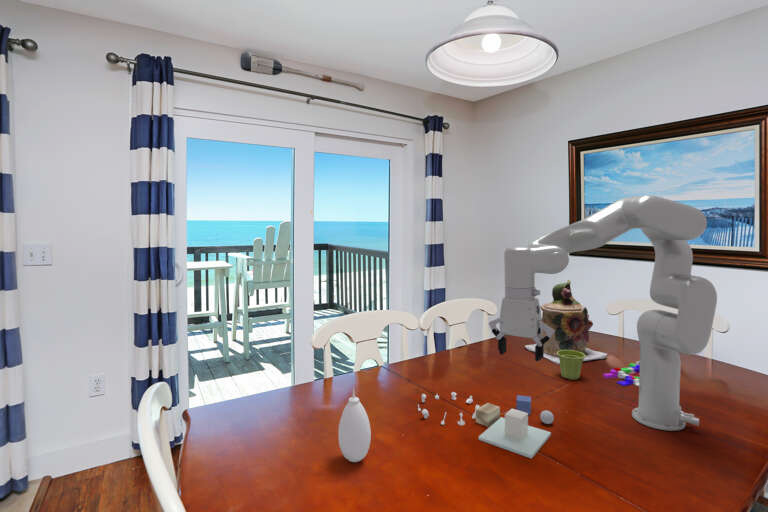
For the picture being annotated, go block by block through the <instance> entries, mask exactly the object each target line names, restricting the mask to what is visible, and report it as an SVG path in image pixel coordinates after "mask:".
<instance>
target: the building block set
mask: <svg viewBox="0 0 768 512" xmlns="http://www.w3.org/2000/svg"><path fill="white" fill-rule="evenodd" d="M602 375H603V376H602V377H603V378H605V379H608V380H609V379H615V378H619V379H624V380H620V381H616V384H618V385H619V386H622V387H627V386H631V385H634V386H636V387H639V376H640V360H638V361H635V363H633V362H631V363H628V367H621V368H620V367H614V368H612V369H610V371H609V373H603V374H602Z"/></svg>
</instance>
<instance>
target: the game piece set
mask: <svg viewBox="0 0 768 512" xmlns="http://www.w3.org/2000/svg"><path fill="white" fill-rule="evenodd" d="M450 395H451V400H454V401H456V400H457V397H456V396H457V393H456V392H454V391H452V392H451V393H450ZM426 398H427V395H426V394H425V393H422V394H421V402H422V404H424V403H425V402H426V400H425V399H426ZM434 398H435V400H439V399H440V396H439V395H438V394H436V395H434ZM473 402H474V400H473V396H472V395H470V396H469V398H467V399H466V401H465V403H467V404H471V403H473ZM417 407H418V408H417V410H418V412H419V411H420V412H421V414H422V415H423V417H424V419H426V420H427V419H428V417H429V416H430V414H429V411H428V410H427V409H426V408H423V409H421V407H420V404H417ZM479 407H481V405H479V404H475V409H474V410H475V411H474V412H473V413H472V416H471V417H472V420H473V419H474V420H476V409H477V408H479ZM446 416H447V412H446V411H445V412H444V416H443V419H442V420H441V422H440V425H442V426H444V425H445V423H446V422H445V419H446ZM459 416H460V418H459V419H460V420H457V424H458V425H459V426H464V425H465V424H466V422H465V420H463V416H464V415H463V413H462V412H460V413H459Z"/></svg>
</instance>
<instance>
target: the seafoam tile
mask: <svg viewBox="0 0 768 512" xmlns="http://www.w3.org/2000/svg"><path fill="white" fill-rule="evenodd" d="M551 436H552V431H551V432H550V431H547V430H545V429H541V428H538V427H534V426H531V425H528V433H527V434H526V435H525V437H524V438H523V439H522V440H520V439H517V438H514V437H511V436H508V435H505V417H502V416H500V418H499V419H498V420H497V421H496V422H495V423H494V424H492V425H491V426H489V427H487V429H486V430H484V432H482V433H480V434H479V436H478V440H479V441H480V442H481V441H482V442H484V443H487V444H490V445H493V446H495V447H498V448H501V449H504V450H507V451H509V452H512V453H515V454H518V455H519V456H523V457H525V458H530V459H533V457H535V456H536V454H537V453H538V452H539V450H540V449H541V448H542V447H543V445H545V443H546V442H547V441H548V439H549V438H550V437H551Z"/></svg>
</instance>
